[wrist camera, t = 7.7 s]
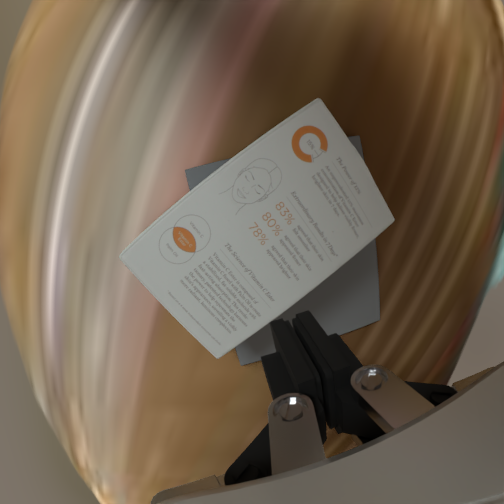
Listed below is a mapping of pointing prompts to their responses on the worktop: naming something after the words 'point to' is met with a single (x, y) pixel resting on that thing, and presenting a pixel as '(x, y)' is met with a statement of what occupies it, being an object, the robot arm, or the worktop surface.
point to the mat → (320, 289)
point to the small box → (261, 230)
